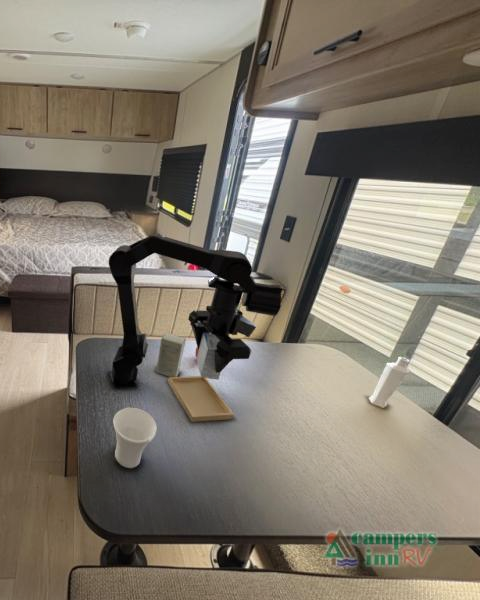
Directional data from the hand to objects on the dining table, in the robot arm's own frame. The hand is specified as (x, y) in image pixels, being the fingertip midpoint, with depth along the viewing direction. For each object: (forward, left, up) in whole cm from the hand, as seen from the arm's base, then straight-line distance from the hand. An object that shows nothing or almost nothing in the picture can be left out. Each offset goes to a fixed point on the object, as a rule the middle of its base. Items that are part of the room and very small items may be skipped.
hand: (208, 361), depth 77 cm
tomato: (+11, +16, -13) cm, 24 cm away
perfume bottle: (+52, -5, -13) cm, 54 cm away
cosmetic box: (-4, +12, -13) cm, 18 cm away
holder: (0, 0, -13) cm, 13 cm away
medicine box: (0, 0, -3) cm, 3 cm away
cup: (-24, -16, -13) cm, 31 cm away
